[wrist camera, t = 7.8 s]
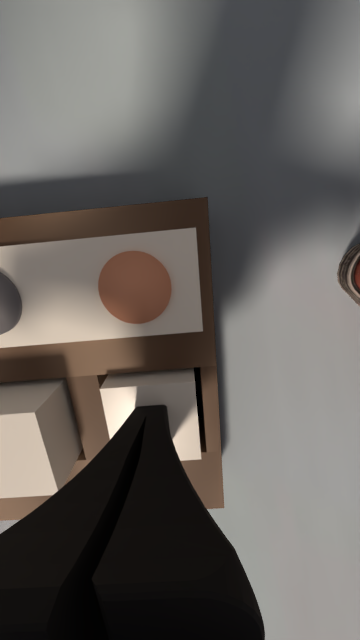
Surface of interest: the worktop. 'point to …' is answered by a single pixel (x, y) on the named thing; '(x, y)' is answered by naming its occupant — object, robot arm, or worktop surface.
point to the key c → (156, 403)
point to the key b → (36, 437)
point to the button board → (122, 341)
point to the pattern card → (100, 288)
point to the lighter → (350, 273)
